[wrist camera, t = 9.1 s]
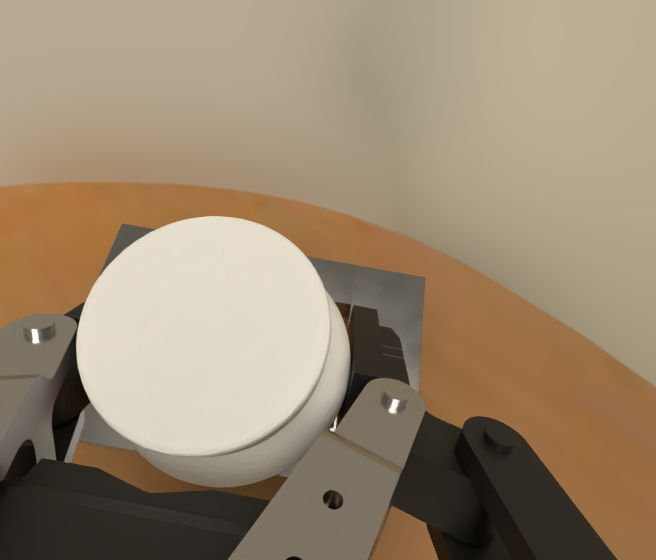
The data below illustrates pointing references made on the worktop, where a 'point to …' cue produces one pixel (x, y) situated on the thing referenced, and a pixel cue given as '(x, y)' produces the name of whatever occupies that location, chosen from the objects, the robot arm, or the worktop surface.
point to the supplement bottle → (214, 351)
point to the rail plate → (346, 291)
